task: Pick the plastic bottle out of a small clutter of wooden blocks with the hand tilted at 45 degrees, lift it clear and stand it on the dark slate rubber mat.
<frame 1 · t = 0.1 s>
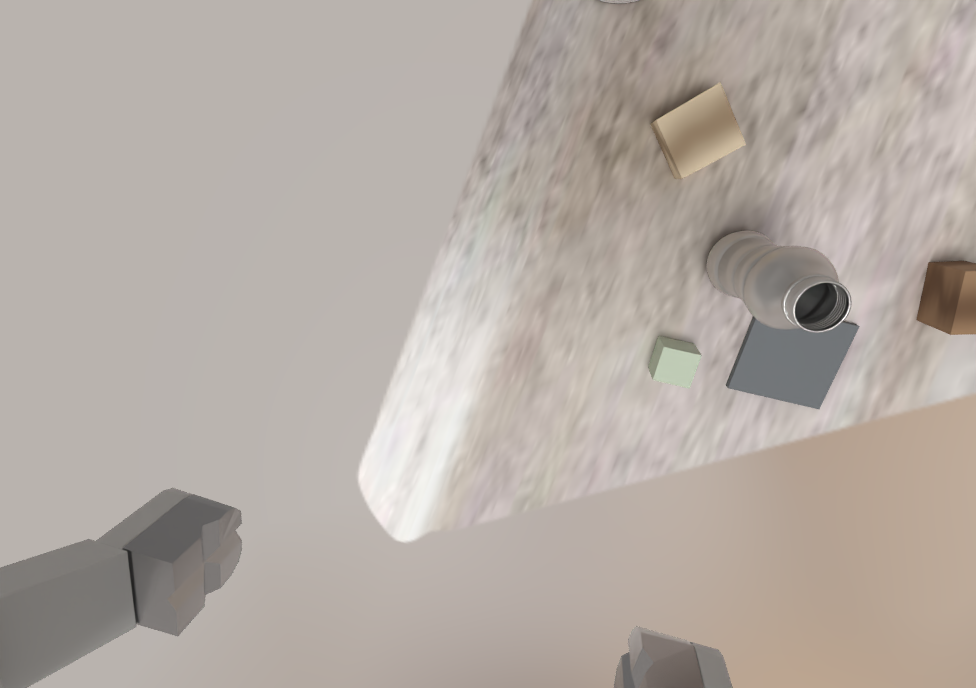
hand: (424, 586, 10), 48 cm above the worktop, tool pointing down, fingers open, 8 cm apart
plastic bottle: (733, 259, 51), on the worktop
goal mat: (787, 356, 53), on the worktop
sage brick: (670, 355, 56), on the worktop
beech brick: (691, 135, 48), on the worktop
walnut brick: (939, 291, 49), on the worktop
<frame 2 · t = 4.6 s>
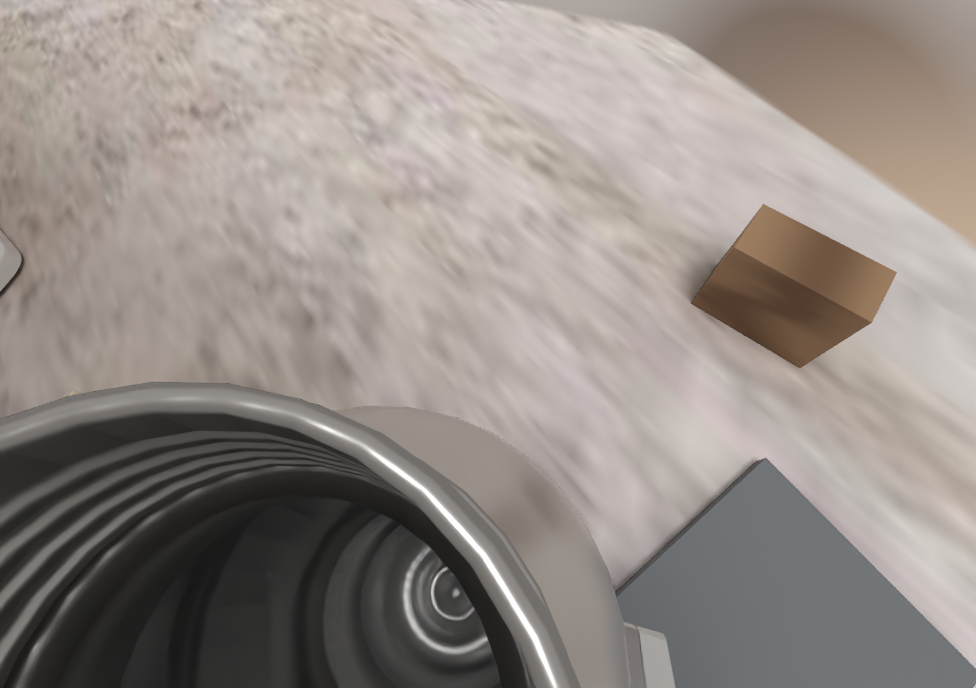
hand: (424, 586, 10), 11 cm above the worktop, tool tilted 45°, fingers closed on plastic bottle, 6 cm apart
plastic bottle: (455, 590, 20), on the worktop, touching gripper
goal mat: (773, 641, 19), on the worktop
walnut brick: (755, 314, 25), on the worktop
when the fingers open (14 cm above the worktop, at t = 10.6 s): plastic bottle moves 3 cm, resting on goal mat.
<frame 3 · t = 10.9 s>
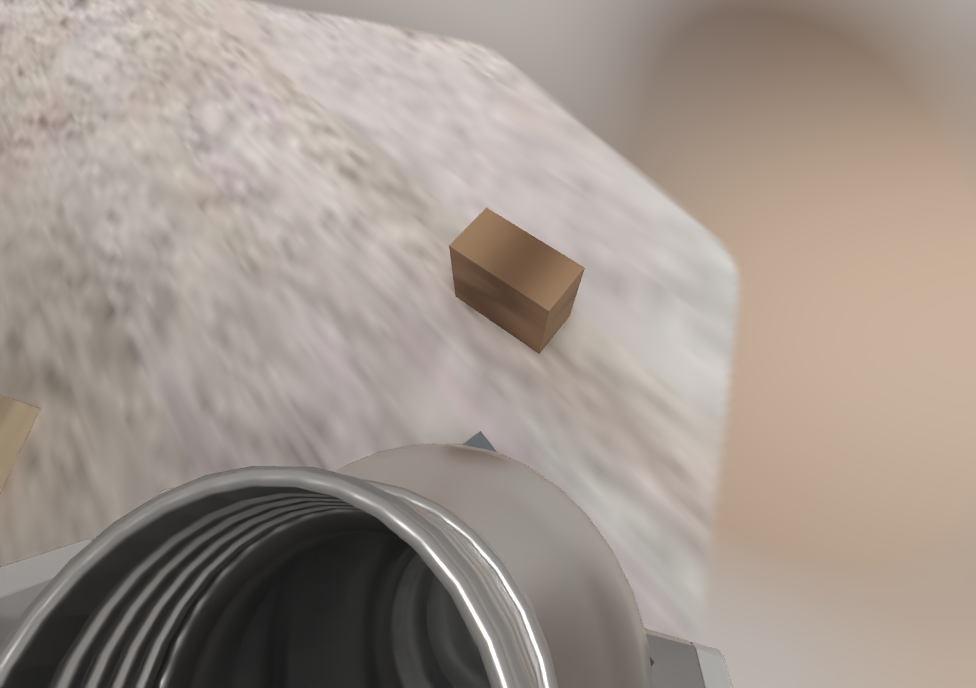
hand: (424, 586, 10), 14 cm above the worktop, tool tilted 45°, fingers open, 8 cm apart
plastic bottle: (517, 605, 21), point 1 cm above the worktop, touching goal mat, gripper
walnut brick: (512, 306, 28), on the worktop
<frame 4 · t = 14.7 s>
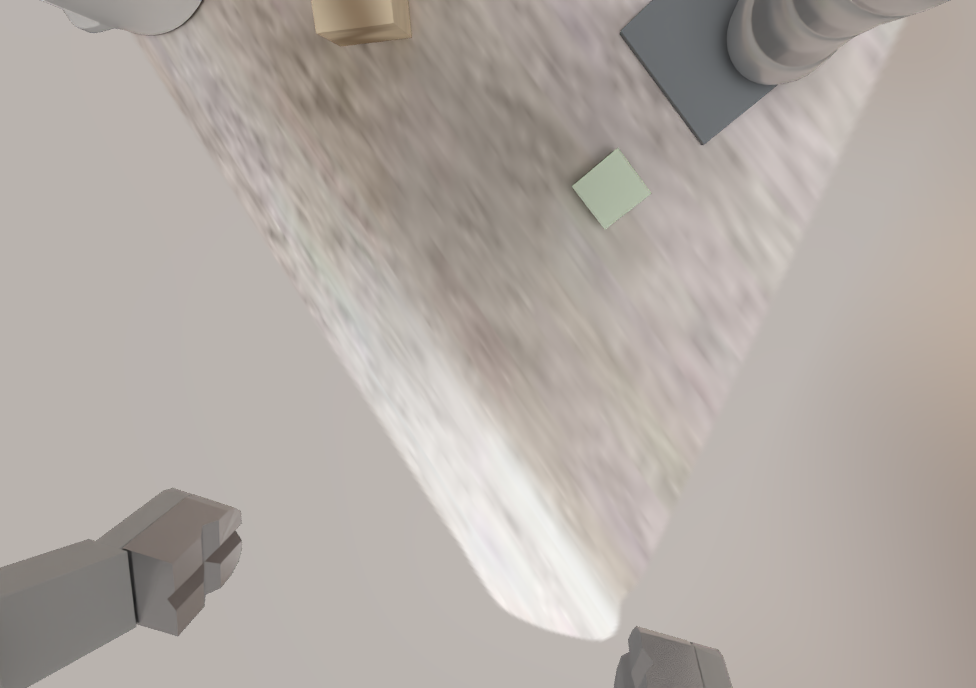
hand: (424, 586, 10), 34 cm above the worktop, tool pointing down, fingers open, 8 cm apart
plastic bottle: (766, 39, 32), point 1 cm above the worktop, touching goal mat
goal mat: (723, 36, 34), on the worktop
sage brick: (608, 188, 38), on the worktop
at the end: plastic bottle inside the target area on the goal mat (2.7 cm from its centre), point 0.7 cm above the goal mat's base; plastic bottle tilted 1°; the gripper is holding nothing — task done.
